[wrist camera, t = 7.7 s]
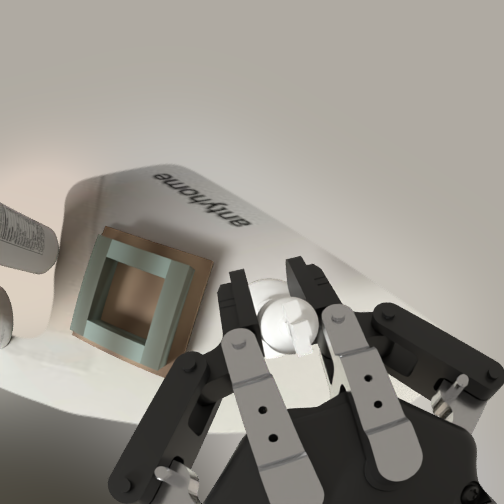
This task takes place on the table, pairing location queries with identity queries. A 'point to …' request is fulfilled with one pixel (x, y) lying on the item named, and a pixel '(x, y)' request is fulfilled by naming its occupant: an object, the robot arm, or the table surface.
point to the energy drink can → (26, 242)
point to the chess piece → (283, 319)
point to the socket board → (139, 300)
